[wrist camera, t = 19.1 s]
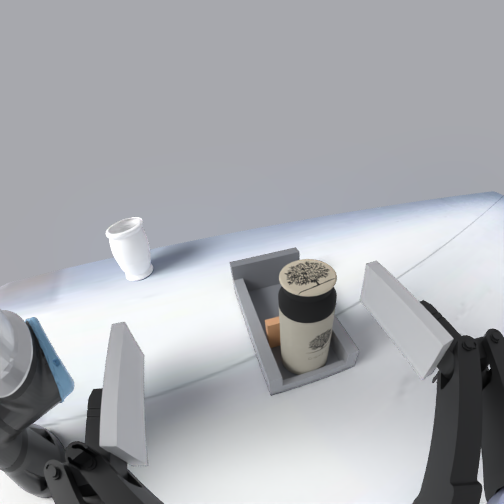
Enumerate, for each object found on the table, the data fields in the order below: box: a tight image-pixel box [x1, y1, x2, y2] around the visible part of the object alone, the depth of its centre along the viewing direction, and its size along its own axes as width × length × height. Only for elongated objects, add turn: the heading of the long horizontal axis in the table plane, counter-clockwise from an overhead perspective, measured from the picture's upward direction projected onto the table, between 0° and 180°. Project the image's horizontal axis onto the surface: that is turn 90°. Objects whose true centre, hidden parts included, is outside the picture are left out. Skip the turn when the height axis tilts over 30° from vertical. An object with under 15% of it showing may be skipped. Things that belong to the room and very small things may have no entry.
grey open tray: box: [230, 247, 359, 395], centre depth 50 cm, size 15×28×8 cm, turn 14°
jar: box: [106, 217, 153, 281], centre depth 69 cm, size 11×10×15 cm
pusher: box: [265, 316, 281, 348], centre depth 46 cm, size 10×2×6 cm, turn 104°
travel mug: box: [278, 259, 337, 375], centre depth 39 cm, size 8×8×18 cm
